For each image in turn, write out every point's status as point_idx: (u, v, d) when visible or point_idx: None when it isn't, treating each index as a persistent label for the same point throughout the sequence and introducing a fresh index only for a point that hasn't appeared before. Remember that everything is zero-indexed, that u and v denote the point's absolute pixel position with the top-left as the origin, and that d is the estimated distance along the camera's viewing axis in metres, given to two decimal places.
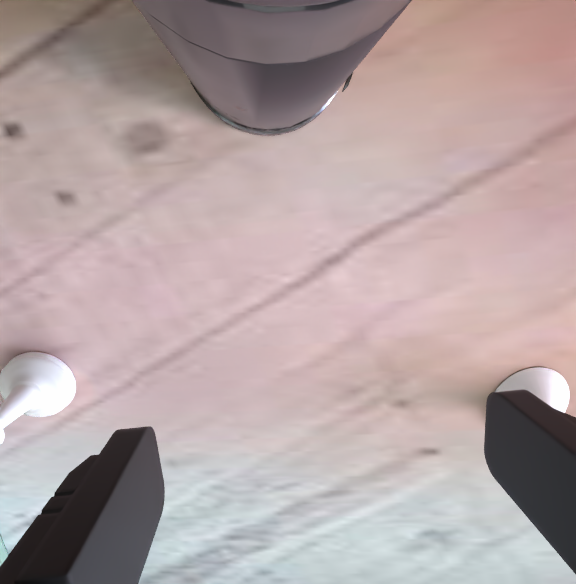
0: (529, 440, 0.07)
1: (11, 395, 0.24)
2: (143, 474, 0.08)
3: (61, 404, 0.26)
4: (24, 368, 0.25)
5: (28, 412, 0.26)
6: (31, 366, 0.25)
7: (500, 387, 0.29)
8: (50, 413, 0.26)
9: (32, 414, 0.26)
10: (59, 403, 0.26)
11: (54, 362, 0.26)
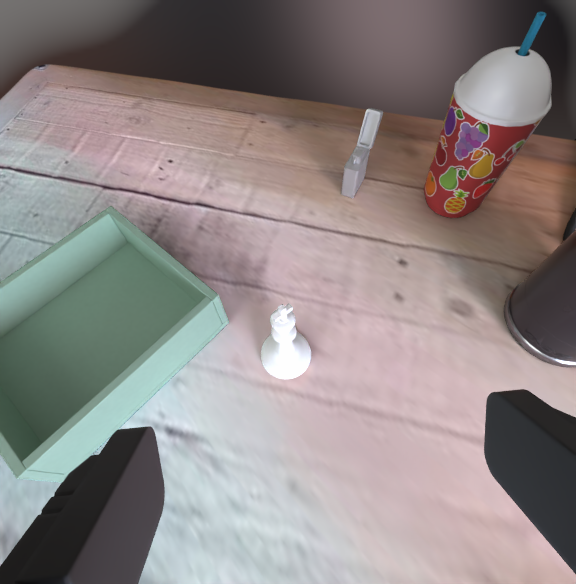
0: (529, 439, 0.07)
1: None
2: (143, 474, 0.08)
3: (288, 372, 0.34)
4: (296, 338, 0.36)
5: (267, 359, 0.35)
6: (301, 340, 0.36)
7: None
8: (276, 371, 0.34)
9: (267, 362, 0.35)
10: (288, 370, 0.34)
11: (309, 351, 0.36)
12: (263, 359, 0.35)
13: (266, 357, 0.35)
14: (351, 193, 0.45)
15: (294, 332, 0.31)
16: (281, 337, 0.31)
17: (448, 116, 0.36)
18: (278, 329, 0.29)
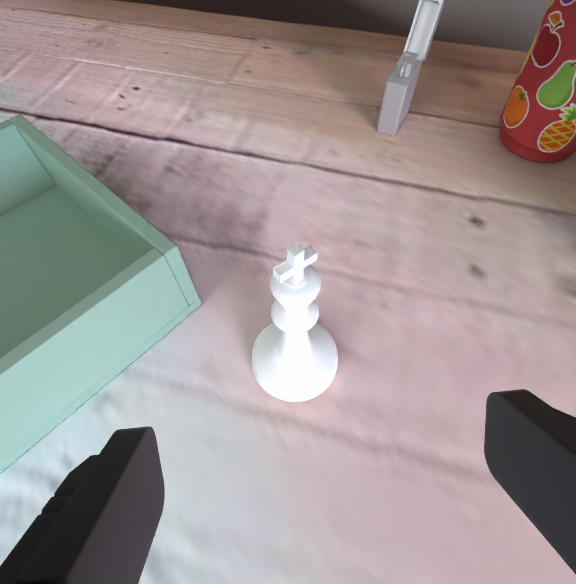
0: (529, 439, 0.07)
1: None
2: (143, 474, 0.08)
3: (299, 390, 0.19)
4: (314, 330, 0.21)
5: (263, 365, 0.20)
6: (321, 334, 0.21)
7: None
8: (277, 387, 0.19)
9: (262, 371, 0.20)
10: (299, 387, 0.19)
11: None
12: (255, 365, 0.20)
13: (261, 362, 0.20)
14: (392, 127, 0.31)
15: (315, 313, 0.16)
16: (289, 321, 0.16)
17: None
18: (286, 300, 0.14)
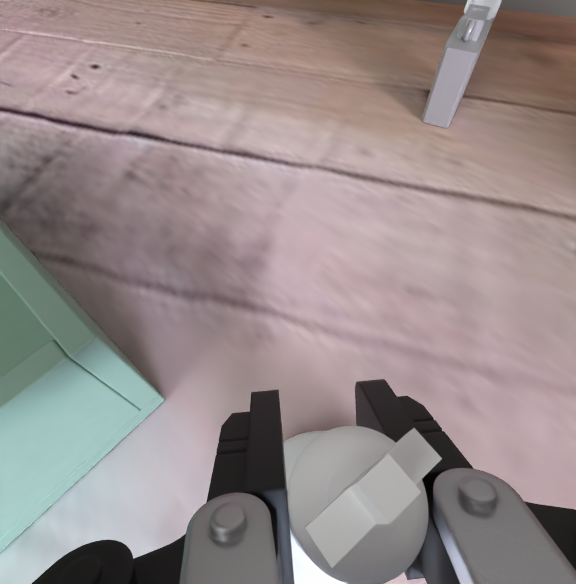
0: (370, 422, 0.08)
1: None
2: (281, 428, 0.09)
3: None
4: None
5: None
6: None
7: None
8: None
9: None
10: None
11: None
12: None
13: None
14: (446, 115, 0.22)
15: None
16: None
17: None
18: (338, 575, 0.05)
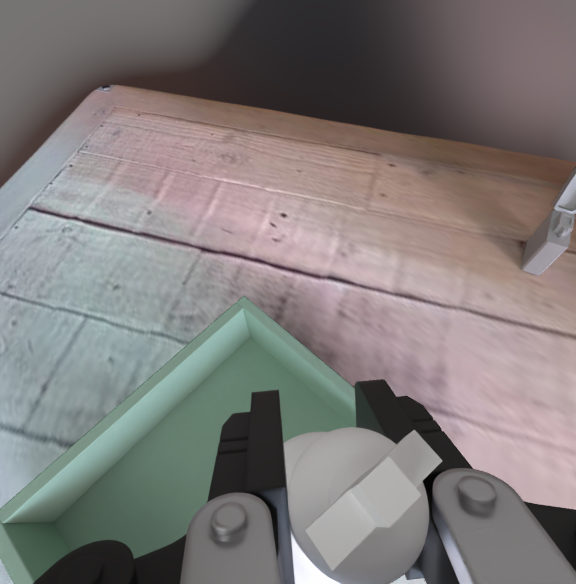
0: (370, 422, 0.08)
1: None
2: None
3: None
4: None
5: None
6: None
7: None
8: None
9: None
10: None
11: None
12: None
13: None
14: (540, 270, 0.34)
15: None
16: None
17: None
18: (338, 578, 0.05)
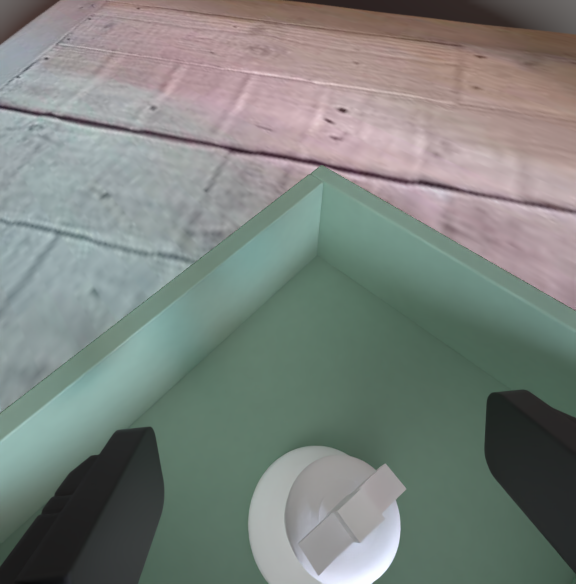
0: (530, 439, 0.07)
1: None
2: (143, 474, 0.08)
3: None
4: None
5: (267, 547, 0.12)
6: None
7: None
8: None
9: (266, 558, 0.12)
10: None
11: None
12: (254, 545, 0.12)
13: (263, 540, 0.12)
14: None
15: None
16: None
17: None
18: (326, 581, 0.06)
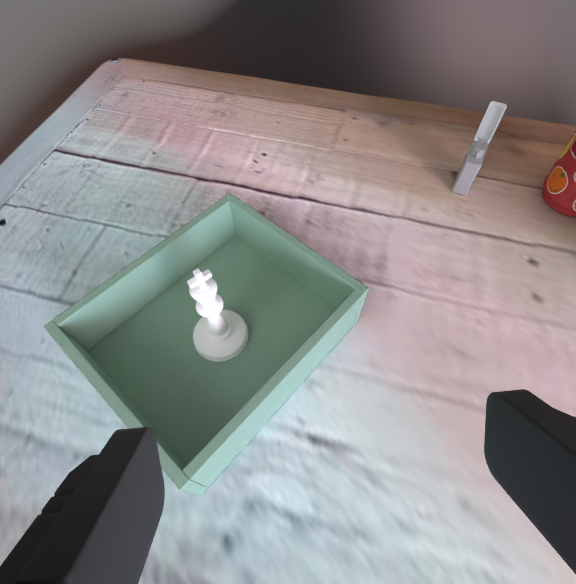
0: (530, 440, 0.07)
1: None
2: (143, 474, 0.08)
3: (219, 354, 0.31)
4: (233, 318, 0.33)
5: (199, 339, 0.32)
6: (237, 320, 0.33)
7: None
8: (206, 352, 0.31)
9: (198, 342, 0.32)
10: (220, 352, 0.31)
11: (246, 332, 0.33)
12: (194, 339, 0.32)
13: (197, 337, 0.32)
14: (465, 189, 0.43)
15: (220, 305, 0.28)
16: (204, 310, 0.28)
17: None
18: (196, 298, 0.26)
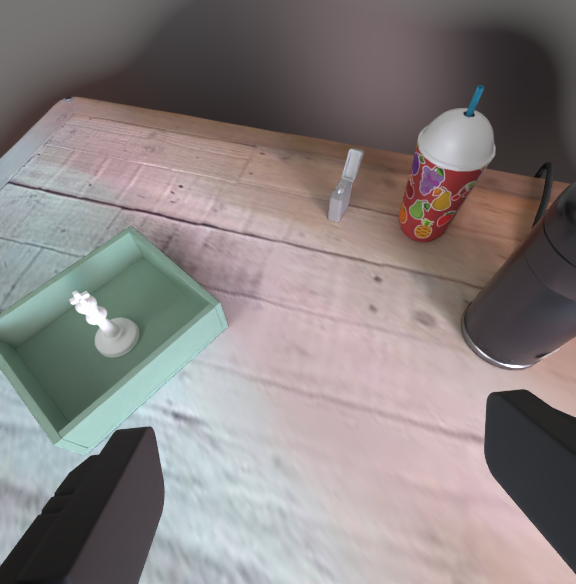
0: (530, 440, 0.07)
1: (113, 322, 0.41)
2: (143, 474, 0.08)
3: (112, 351, 0.41)
4: (126, 324, 0.43)
5: (98, 340, 0.42)
6: (129, 326, 0.43)
7: None
8: (102, 350, 0.41)
9: (97, 343, 0.42)
10: (112, 350, 0.41)
11: (136, 335, 0.43)
12: (95, 340, 0.42)
13: (97, 339, 0.42)
14: (336, 218, 0.53)
15: (103, 316, 0.38)
16: (91, 319, 0.38)
17: (414, 159, 0.43)
18: (79, 311, 0.36)
